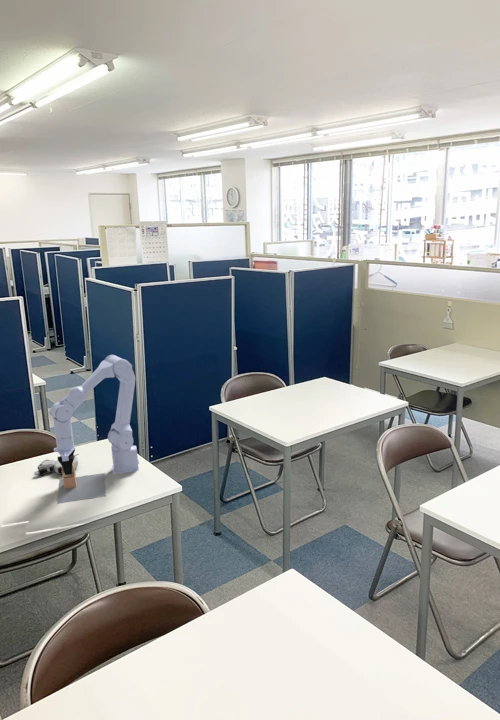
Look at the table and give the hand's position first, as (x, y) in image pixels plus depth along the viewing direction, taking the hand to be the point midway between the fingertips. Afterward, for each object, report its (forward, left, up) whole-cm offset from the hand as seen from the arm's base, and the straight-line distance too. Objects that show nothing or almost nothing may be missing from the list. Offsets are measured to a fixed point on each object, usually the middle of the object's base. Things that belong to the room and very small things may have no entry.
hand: (68, 471), depth 195 cm
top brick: (0, 0, -1) cm, 1 cm away
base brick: (0, 0, -6) cm, 6 cm away
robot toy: (+5, -15, -7) cm, 17 cm away
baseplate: (-4, +3, -6) cm, 8 cm away
